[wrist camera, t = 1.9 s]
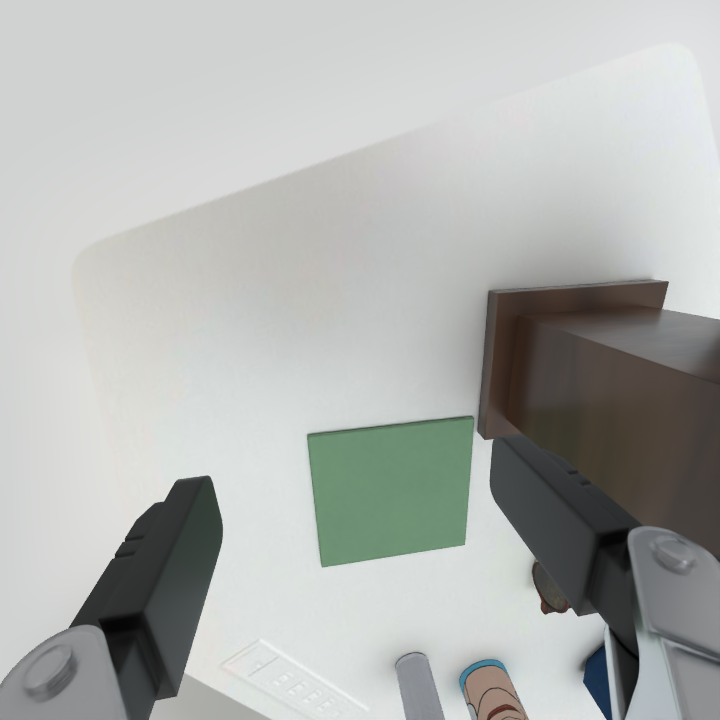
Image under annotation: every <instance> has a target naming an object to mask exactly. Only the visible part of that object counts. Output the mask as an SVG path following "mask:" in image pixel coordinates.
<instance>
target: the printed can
mask: <svg viewBox="0 0 720 720" xmlns="http://www.w3.org/2000/svg"><path fill="white" fill-rule="evenodd" d="M460 686H461V689H462V692H463V695H464V698H465V701H466V704H467V707H468V710H469V713H470V716H471V719H472V720H529V719H528V717H527V714H526V712H525V710H524V708H523V706H522V704H521V701H520V699H519V697H518V695H517V693H516V690H515V688H514V686H513V684H512V682H511V680H510V677H509V675H508V673H507V671H506V669H505V667H504V665H503V664H502V663H501V662H499V661H496V660H485V661H481V662H478V663H476V664H474V665H472V666H470V667H469V668H467V669H466V670H465V671H464V673H463V674H462V675H461V678H460Z"/></svg>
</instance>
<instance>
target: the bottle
mask: <svg viewBox="0 0 720 720" xmlns="http://www.w3.org/2000/svg"><path fill="white" fill-rule="evenodd" d="M396 672H397V677H398V682H399V687H400V692H401V697H402V702H403V707H404V712H405V717H406V720H445V718H444V714H443V711H442V707H441V704H440V700H439V697H438V693H437V690H436V686H435V683H434V679H433V676H432V672H431V669H430V665H429V662H428V659H427V657H426V656H425V655H423V654H420V653H412V654H408V655H406V656H404V657H402V658H401V659H400V660H399V661H398V662H397V664H396Z"/></svg>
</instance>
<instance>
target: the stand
mask: <svg viewBox="0 0 720 720" xmlns="http://www.w3.org/2000/svg"><path fill="white" fill-rule="evenodd" d="M668 283H669V282H668V281H660V280H643V281H628V282H613V283H598V284H583V285H568V286H554V287H539V288H524V289H509V290H494V291H489V298H488V311H487V323H486V336H485V348H484V361H483V373H482V386H481V398H480V411H479V423H478V433H479V434H480V435H481V436H482V437H483V439H484V440H489V439H494V438H495V437H500V436H507V435H514V434H524V435H525V436H527V437H528V438H529V439H530V440H531V441H532V442H533V443H534V444H536V445H537V446H538V447H539V448H540V449H543V448H544V449H546V450H548V451H550V452H552V453H554V454H556V455H558V456H560V457H562V458H564V459H565V460H566V461H567V462H568V463H570V464H571V465H572V466H573V467H574V468H576V469H577V470H578V472H579V473H582V474H583V475H584V476H585V477H586V478H587V479H589V480H590V481H591V484H595V485H596V486H597V487H598V488H599V489H601V490H602V491H603V492H604V493H605V494H606V495H608V496H609V497H610V498H611V499H612V500H614V501H615V502H616V503H617V504H618V505H620V506H621V507H622V508H623V509H624V510H625V511H627V512H628V513H629V514H630V515H631V516H633V517H634V518H635V519H636V520H637V521H639V522H640V523H641V524H642V525H643V526H653V527H659V528H664V529H667V530H670V531H673V532H676V533H678V534H681V535H683V536H685V537H687V538H689V539H691V540H692V541H694V542H696V543H697V544H699V545H700V546H702V547H703V548H705V549H706V550H707V551H708V552H710V553H711V554H712V555H719V556H720V320H718V319H713V318H707V317H702V316H697V315H691V314H686V313H680V312H675V311H670V310H664V309H662V307H663V303H664V299H665V295H666V291H667V287H668Z"/></svg>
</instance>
